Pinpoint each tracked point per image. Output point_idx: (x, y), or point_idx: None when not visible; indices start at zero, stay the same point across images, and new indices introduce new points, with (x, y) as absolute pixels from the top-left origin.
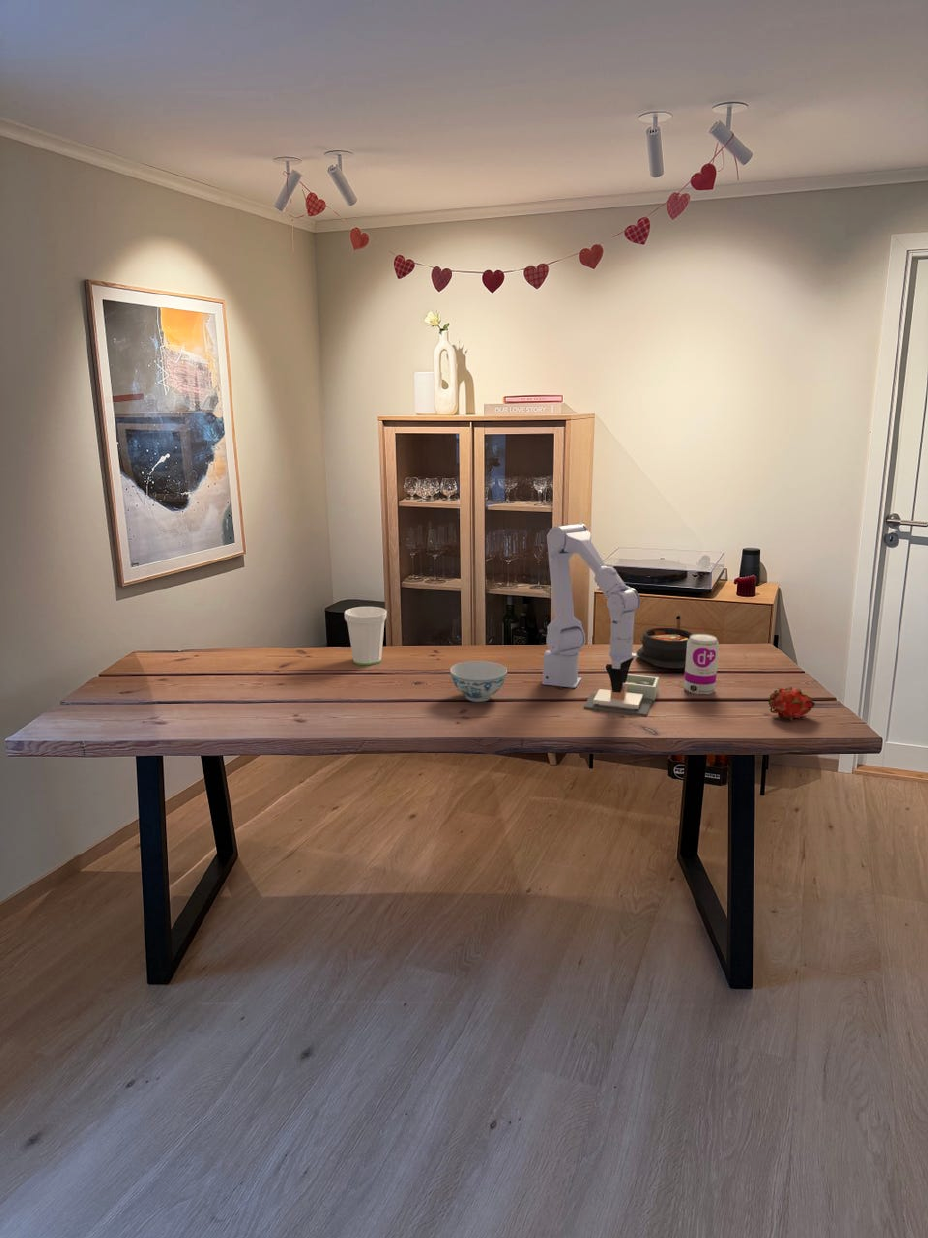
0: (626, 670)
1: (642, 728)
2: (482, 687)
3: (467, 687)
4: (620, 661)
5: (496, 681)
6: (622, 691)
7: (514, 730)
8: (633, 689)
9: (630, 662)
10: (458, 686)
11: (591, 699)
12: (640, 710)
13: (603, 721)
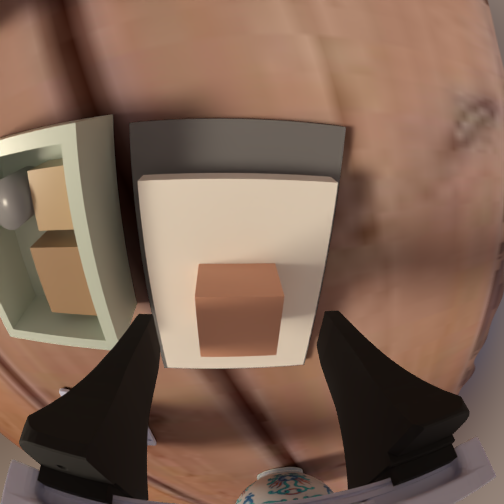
0: (467, 408)
1: (461, 148)
2: (333, 492)
3: None
4: (488, 481)
5: None
6: (281, 302)
7: None
8: (105, 244)
9: (107, 424)
10: None
11: None
12: (303, 161)
13: (411, 284)
